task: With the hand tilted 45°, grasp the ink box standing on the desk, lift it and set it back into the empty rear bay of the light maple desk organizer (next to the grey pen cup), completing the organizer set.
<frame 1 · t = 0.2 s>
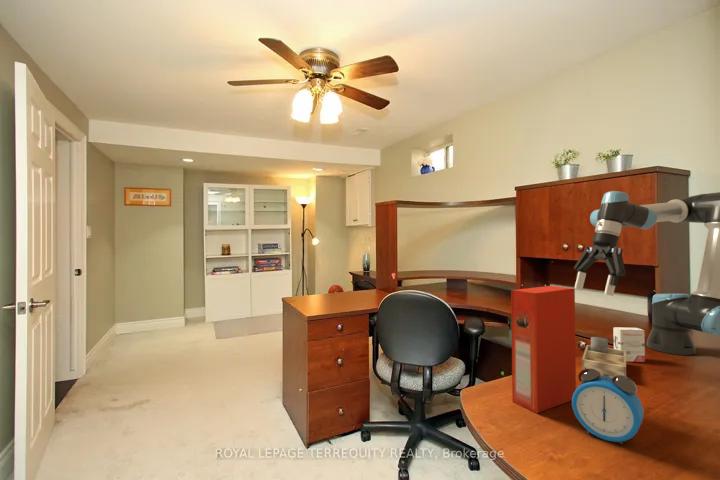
hand: (592, 291, 125), 27 cm above the table, tool tilted 15°, fingers open, 13 cm apart
file binder: (543, 401, 100), on the table
alarm clock: (606, 436, 82), on the table
ink box: (628, 360, 133), on the table
desk organizer: (604, 369, 124), on the table
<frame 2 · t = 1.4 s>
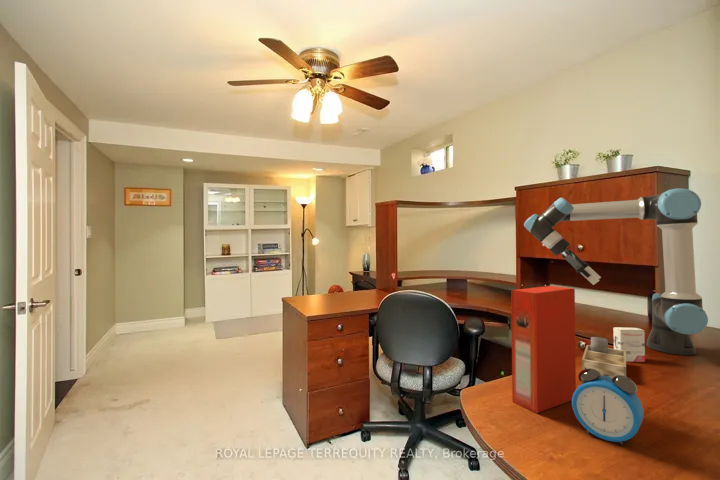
hand: (597, 281, 143), 29 cm above the table, tool tilted 45°, fingers open, 13 cm apart
nothing on the table moved.
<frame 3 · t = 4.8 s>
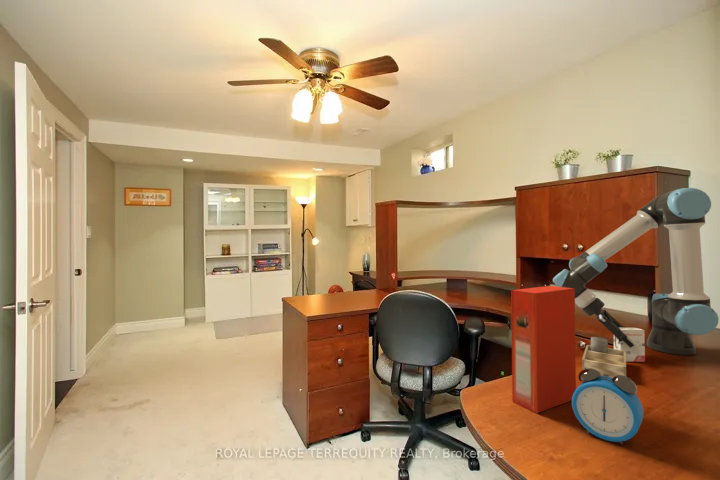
hand: (640, 350, 131), 4 cm above the table, tool tilted 45°, fingers closed on ink box, 8 cm apart
ink box: (628, 360, 133), on the table, touching gripper
everything else where it was.
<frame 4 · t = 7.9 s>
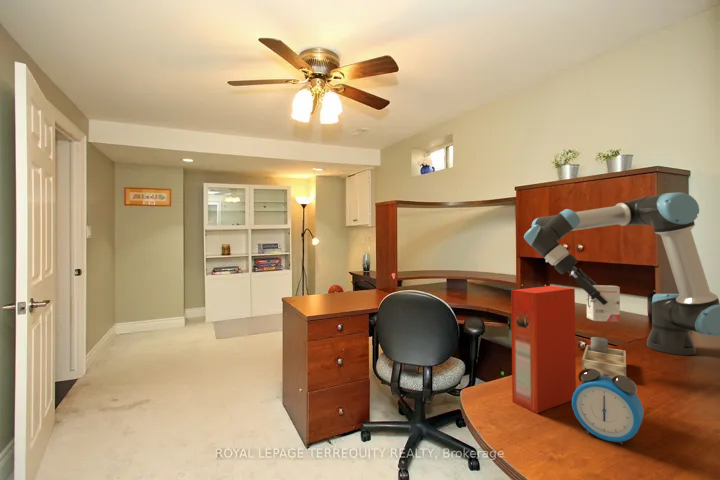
hand: (614, 309, 119), 22 cm above the table, tool tilted 45°, fingers closed on ink box, 8 cm apart
ink box: (602, 320, 121), point 18 cm above the table, touching gripper
everything else where it was.
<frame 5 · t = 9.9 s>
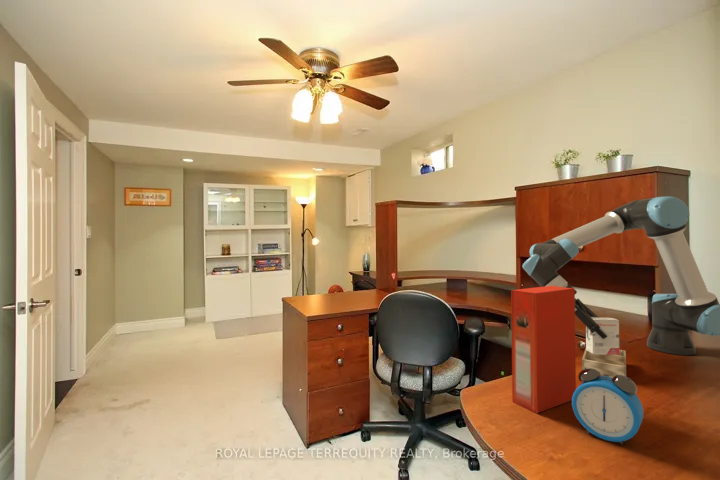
hand: (614, 342, 118), 11 cm above the table, tool tilted 45°, fingers closed on ink box, 8 cm apart
ink box: (601, 353, 121), point 7 cm above the table, touching gripper
everything else where it was.
when the fingers open (7 cm above the table, at t = 11.2 s): ink box drops 2 cm, resting on desk organizer.
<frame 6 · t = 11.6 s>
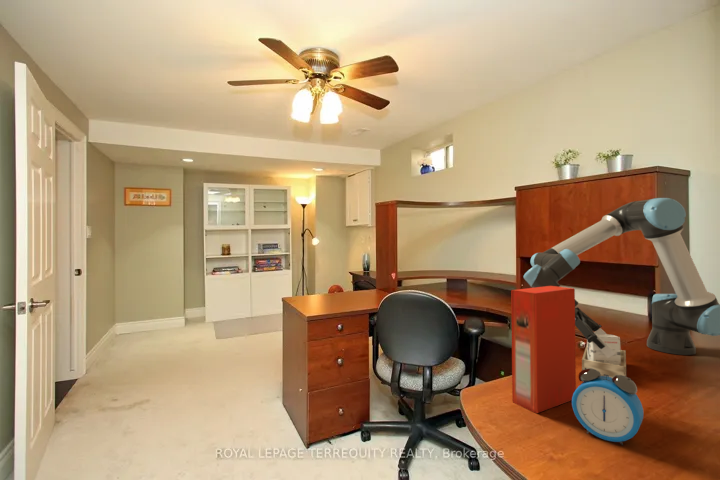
hand: (612, 350, 119), 8 cm above the table, tool tilted 45°, fingers open, 13 cm apart
ink box: (603, 370, 120), point 1 cm above the table, touching desk organizer
everything else where it was.
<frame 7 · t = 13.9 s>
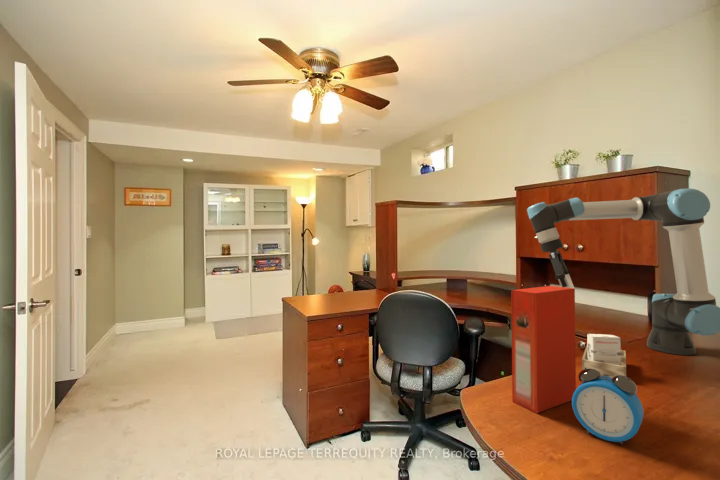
hand: (570, 292, 135), 25 cm above the table, tool tilted 20°, fingers open, 13 cm apart
nothing on the table moved.
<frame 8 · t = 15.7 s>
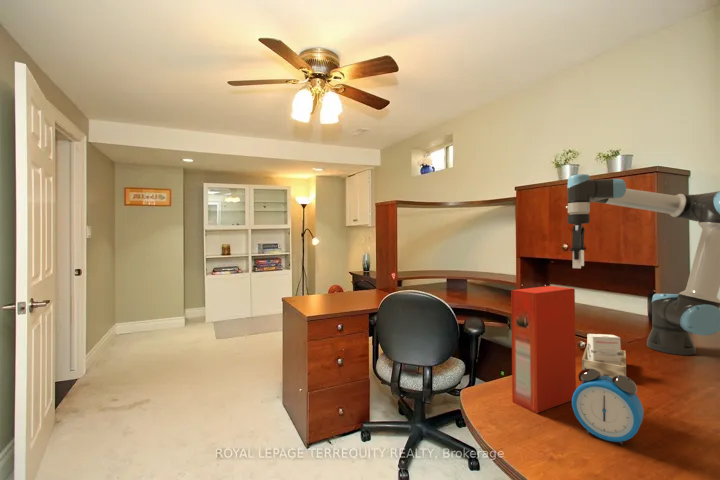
hand: (578, 267, 140), 35 cm above the table, tool pointing down, fingers open, 13 cm apart
nothing on the table moved.
at the end: ink box inside the target area on the desk organizer (0.3 cm from its centre), point 0.8 cm above the desk organizer's base; ink box tilted 0°; the gripper is holding nothing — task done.
